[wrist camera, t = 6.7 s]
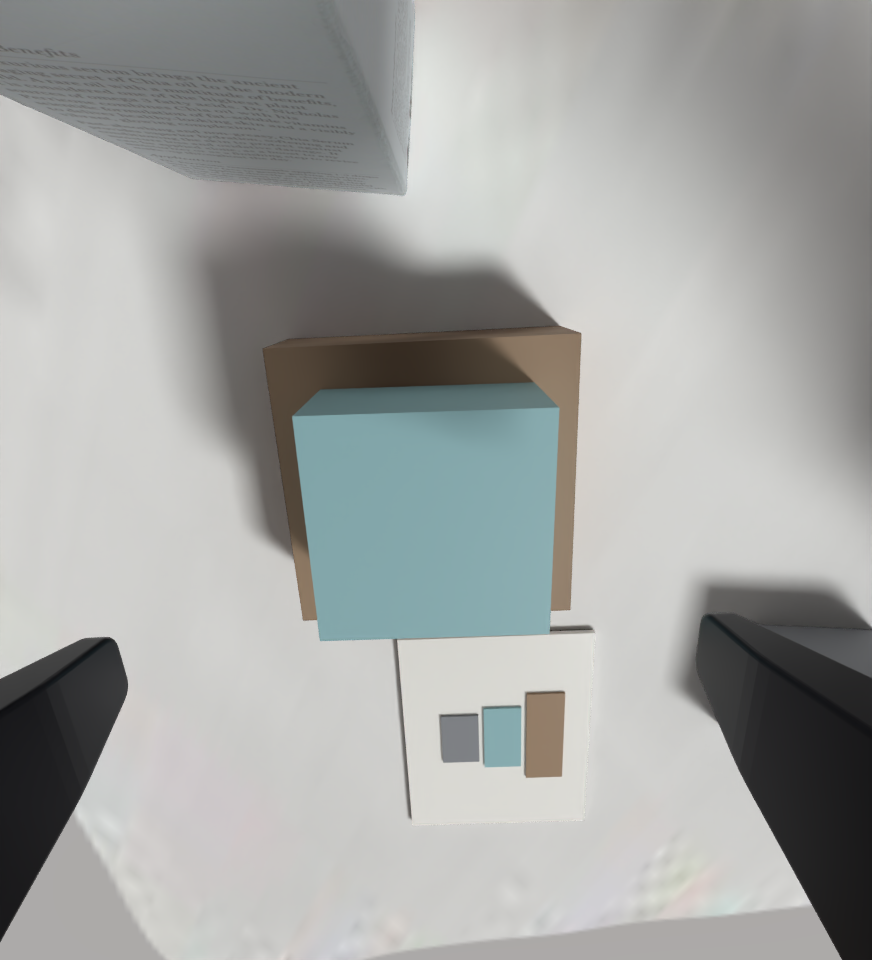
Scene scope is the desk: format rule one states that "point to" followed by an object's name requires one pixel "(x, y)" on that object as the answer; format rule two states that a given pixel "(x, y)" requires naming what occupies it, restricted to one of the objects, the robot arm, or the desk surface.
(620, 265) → the desk surface
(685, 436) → the desk surface
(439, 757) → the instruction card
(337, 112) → the skincare box
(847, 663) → the grey block
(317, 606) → the teal block
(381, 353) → the base block
